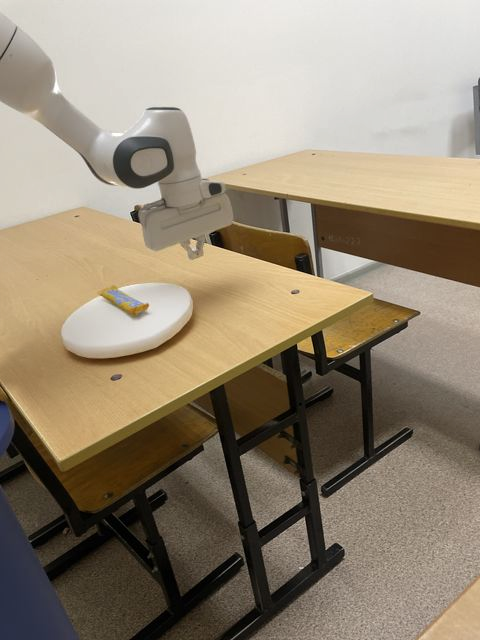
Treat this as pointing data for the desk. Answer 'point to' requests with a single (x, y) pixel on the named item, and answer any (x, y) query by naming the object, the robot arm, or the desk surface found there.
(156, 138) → the robot arm
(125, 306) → the candy bar
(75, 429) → the desk surface
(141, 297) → the plate
